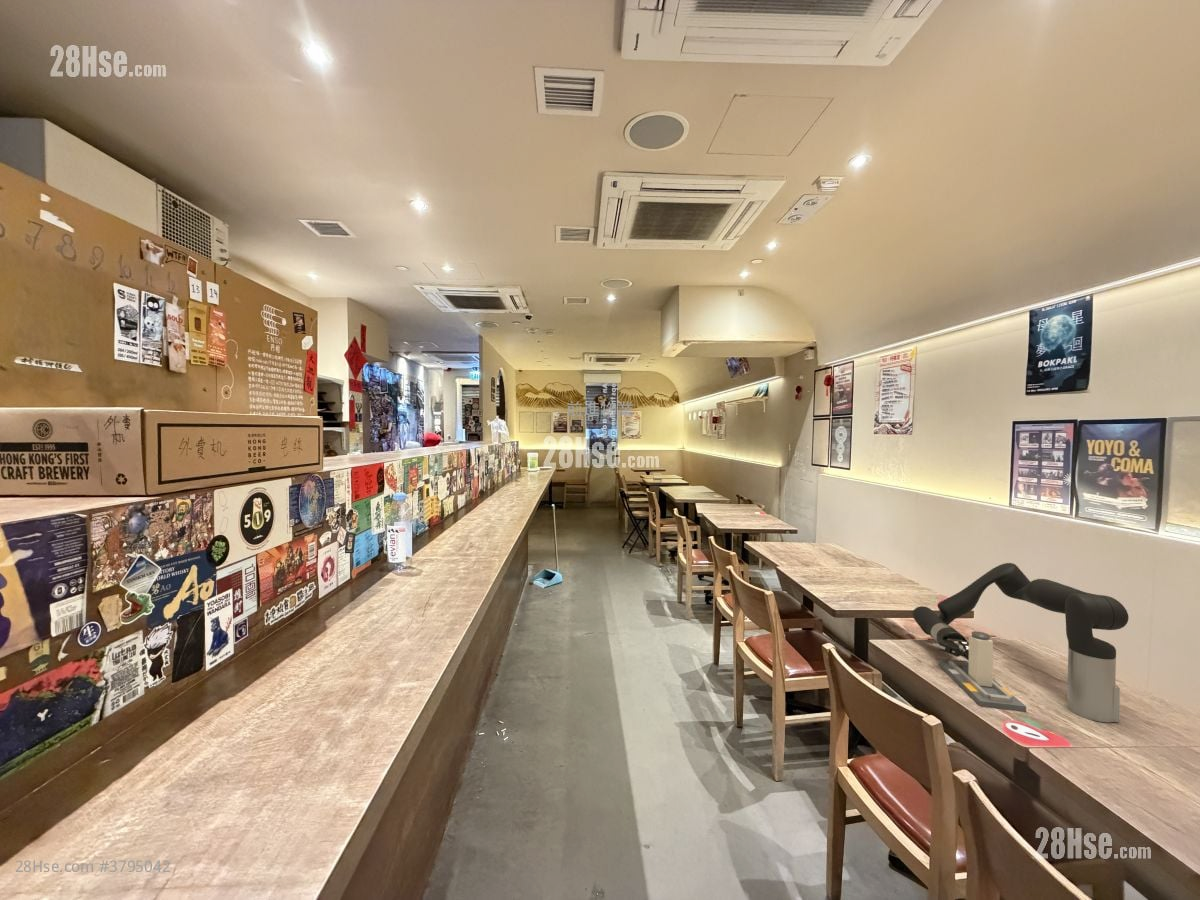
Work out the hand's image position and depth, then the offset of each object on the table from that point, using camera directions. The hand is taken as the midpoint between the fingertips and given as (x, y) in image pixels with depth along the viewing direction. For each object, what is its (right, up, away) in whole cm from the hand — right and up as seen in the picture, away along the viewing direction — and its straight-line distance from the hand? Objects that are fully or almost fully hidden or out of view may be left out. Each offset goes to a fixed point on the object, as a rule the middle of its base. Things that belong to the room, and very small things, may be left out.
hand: (974, 659), depth 147 cm
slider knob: (0, -6, -2) cm, 6 cm away
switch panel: (0, -7, -1) cm, 8 cm away
